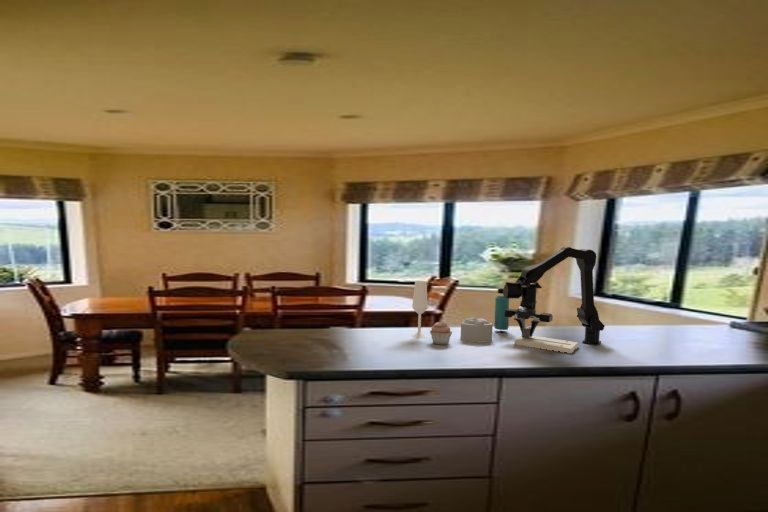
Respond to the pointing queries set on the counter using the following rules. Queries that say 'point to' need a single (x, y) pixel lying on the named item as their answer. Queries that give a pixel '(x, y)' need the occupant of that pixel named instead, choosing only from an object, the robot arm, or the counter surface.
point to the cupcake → (440, 333)
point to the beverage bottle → (501, 311)
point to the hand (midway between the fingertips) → (527, 335)
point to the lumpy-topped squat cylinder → (476, 330)
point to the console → (547, 343)
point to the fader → (526, 332)
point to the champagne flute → (420, 304)
